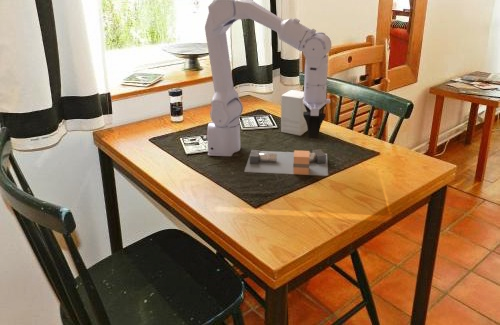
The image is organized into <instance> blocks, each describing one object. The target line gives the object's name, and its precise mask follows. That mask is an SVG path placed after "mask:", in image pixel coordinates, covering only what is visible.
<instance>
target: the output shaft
mask: <svg viewBox="0 0 500 325" xmlns="http://www.w3.org/2000/svg"><path fill="white" fill-rule="evenodd" d="M325 154H326V153H325V152H324V151H323V150H322V149H321V148H317V149H312V152H310V155H309V158H310V159H309V162H314V161H315V162H316V163H317V164H324V163H326V155H325Z"/></svg>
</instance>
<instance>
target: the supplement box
mask: <svg viewBox="0 0 500 325" xmlns="http://www.w3.org/2000/svg"><path fill="white" fill-rule="evenodd" d="M280 99H281V100H280V102H281V103H280V105H281V106H280V133H285V134H291V135H295V136H302V135H304V133H306V132H308V128H307V123H306V120H305V118H304V116H303V112H307V111H306V108H305V106H304V103H303V99H304V90H302V91H301V90H295V89H291V90H288V91H287V92H284V93H283V94H281V95H280Z"/></svg>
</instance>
